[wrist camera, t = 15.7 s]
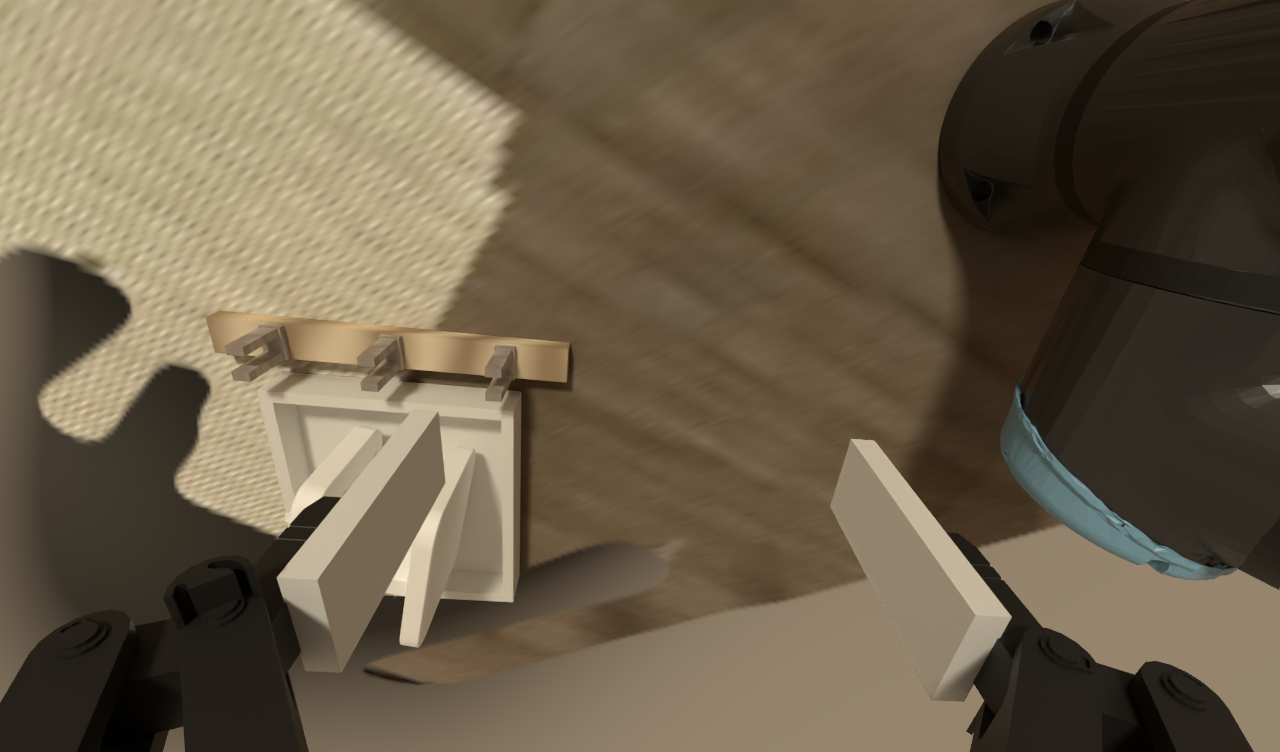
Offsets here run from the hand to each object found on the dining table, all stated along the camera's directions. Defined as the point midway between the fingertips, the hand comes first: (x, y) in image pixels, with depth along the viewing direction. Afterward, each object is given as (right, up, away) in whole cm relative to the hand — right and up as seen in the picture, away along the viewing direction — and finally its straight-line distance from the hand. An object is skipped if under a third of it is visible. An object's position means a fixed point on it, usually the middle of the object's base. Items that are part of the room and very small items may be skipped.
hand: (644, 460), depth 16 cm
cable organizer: (-21, -8, +32) cm, 39 cm away
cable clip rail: (-20, +5, +26) cm, 33 cm away
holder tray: (-22, -8, +32) cm, 39 cm away
